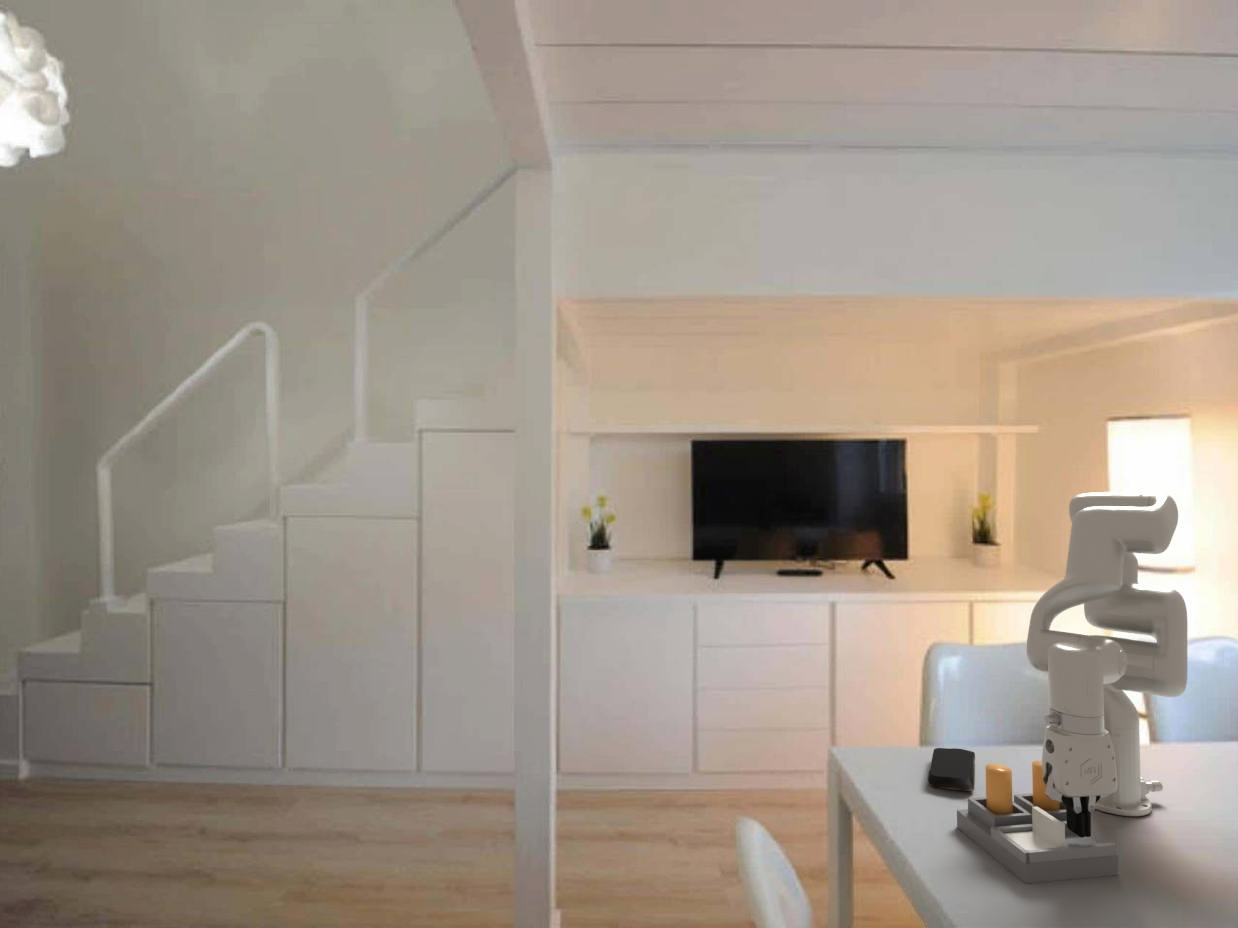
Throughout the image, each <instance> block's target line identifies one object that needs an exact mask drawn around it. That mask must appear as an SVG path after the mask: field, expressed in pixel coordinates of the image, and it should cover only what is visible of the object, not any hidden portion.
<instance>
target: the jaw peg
mask: <svg viewBox="0 0 1238 928" xmlns="http://www.w3.org/2000/svg"><path fill="white" fill-rule="evenodd" d="M1012 771H1013V770H1012V769H1011V768H1009V767H1008V766H1006V765H1003V764H999V763H998V764H997V763H988V764H986V765H985V797H986V808H987V809H988V810H989V811H991V812H992V813H993V814H995V815H1003V814H1013V802H1014V801H1013V772H1012ZM1012 801H1013V802H1012Z"/></svg>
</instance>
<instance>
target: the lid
mask: <svg viewBox="0 0 1238 928" xmlns="http://www.w3.org/2000/svg"><path fill="white" fill-rule="evenodd" d="M1004 834H1005V835H1007V836H1008V837H1009V838H1011V839H1012V840H1013V841H1015V842H1016V843H1017V844H1019V845H1020V846H1021V847H1023V848H1024V849H1025V850H1035V849H1046V848H1058V847H1065V824H1064V823H1062V822H1060V821H1059V820H1057V819H1056V818H1054V817H1053V816H1051V815H1050V814H1048V813H1047V812H1045V811H1044V810H1042V809H1041V808H1039V807H1032V831H1028V832H1016V833H1004Z"/></svg>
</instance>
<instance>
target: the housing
mask: <svg viewBox="0 0 1238 928" xmlns="http://www.w3.org/2000/svg"><path fill="white" fill-rule="evenodd" d="M1031 768H1032V769H1031V771H1032V772H1031V773H1032V774H1031V778H1032V779H1031V780H1032V782H1031V783H1032V792H1031V793H1019V794H1013V800H1012V802H1013V814H1003V815H995V814H993V813H992V812H991V811H989V810H988V809H987V808H986V796H976V797H967V808H966V809H957V810H956V827H957V828H958V829H959V830H960V831H962V832H963V834H965V835H966V836H968V838H969V839H972V841H974V842H975V843H976V844H978V846H980V847H981V848H982V849H984V850H985V851H986V853H988V854H989V855H990V856H992V857H993V858H994V859H995V860H997V861H998V862H999V863H1000V864H1002V865H1003V866H1004V867H1005V868H1007V869H1008V870H1009V871H1010V872H1011V873H1013V874H1014V876H1016V877H1018V879H1020V880H1021V881H1022V882H1023V883H1025V884H1033V883H1035V884H1036V883H1045V882H1047V883H1048V882H1055V881H1057V882H1058V881H1063V880H1064V881H1067V880H1068V881H1069V880H1076V879H1077V880H1078V879H1086V878H1087V879H1088V878H1099V877H1100V878H1101V877H1108V876H1119V855H1118V854H1117V845H1116V844H1115V843H1114V842H1106V843H1099V842H1098V841H1097V840H1095V839H1093V838H1092V837H1086V836H1085V837H1082V838H1081V837H1079V836H1078V835H1076V834H1075V833H1073V832H1072V831H1070V830H1069V829H1068V828H1067V818H1066V806H1065V805H1064V804H1063V803H1062V802H1061V801H1056V800H1052V799H1050V798H1049V797H1047V796H1046V795H1045V792H1046V787H1047V785H1046V784H1044V782H1043V777H1042V760H1033V761H1032V762H1031ZM1032 807H1039V808H1041V809H1042V810H1044V811H1045V812H1047V813H1048V814H1050V815H1051V816H1053V817H1054V818H1056V819H1057V820H1059V821H1060V822H1062V823H1064V824H1065V847H1058V848H1046V849H1035V850H1025V849H1024V848H1023V847H1021V846H1020V845H1019V844H1017V843H1016V842H1015V841H1013V840H1012V839H1011V838H1009V837H1008V836H1007V835H1005V834H1004V833H1016V832H1028V831H1032Z"/></svg>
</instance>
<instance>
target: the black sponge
mask: <svg viewBox="0 0 1238 928" xmlns="http://www.w3.org/2000/svg"><path fill="white" fill-rule="evenodd" d="M931 756H932V758H931V762H930V768H929V771H928V777H927V781H928V784H929V785H930V786H931V787H933V788H937V789H938V788H939V789H940V788H941V789H948V790H957V791H964V792H965V791H968V792H971V791H974V790H975V781H976V780H975V779H976V754H975V752H974V751H972V750H966V749H963V748H955V747H954V748H953V747H952V748H947V747H946V748H945V747H936V748H934V749H933V752H932V755H931Z"/></svg>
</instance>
